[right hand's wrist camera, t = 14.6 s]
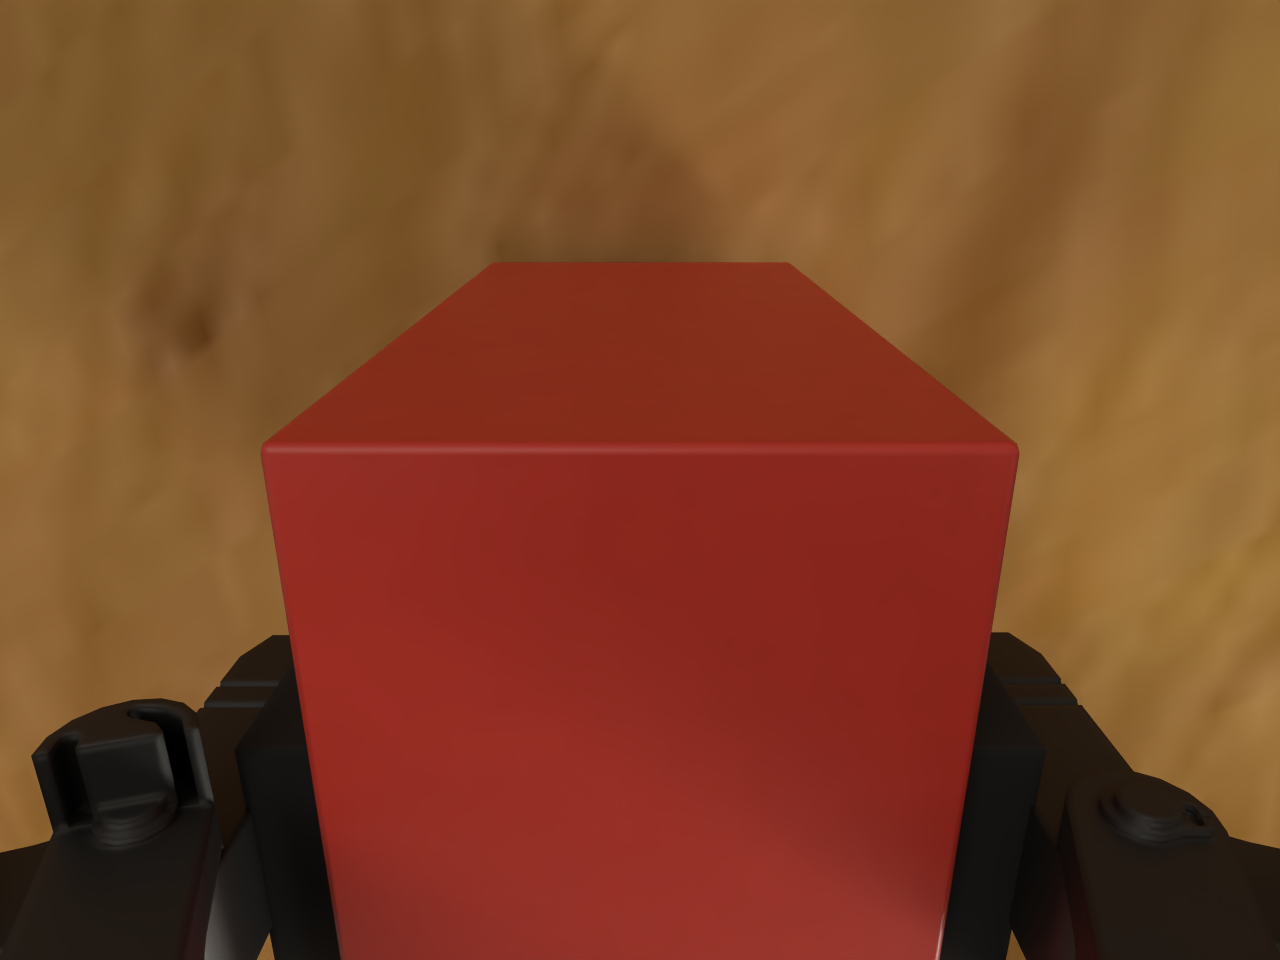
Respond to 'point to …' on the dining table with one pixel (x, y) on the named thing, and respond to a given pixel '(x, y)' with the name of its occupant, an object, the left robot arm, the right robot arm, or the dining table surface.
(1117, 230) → the dining table surface
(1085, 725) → the right robot arm
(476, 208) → the dining table surface
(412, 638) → the brick
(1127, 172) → the dining table surface
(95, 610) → the dining table surface
